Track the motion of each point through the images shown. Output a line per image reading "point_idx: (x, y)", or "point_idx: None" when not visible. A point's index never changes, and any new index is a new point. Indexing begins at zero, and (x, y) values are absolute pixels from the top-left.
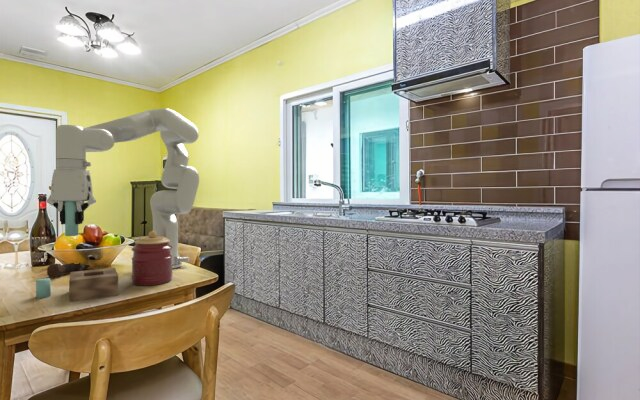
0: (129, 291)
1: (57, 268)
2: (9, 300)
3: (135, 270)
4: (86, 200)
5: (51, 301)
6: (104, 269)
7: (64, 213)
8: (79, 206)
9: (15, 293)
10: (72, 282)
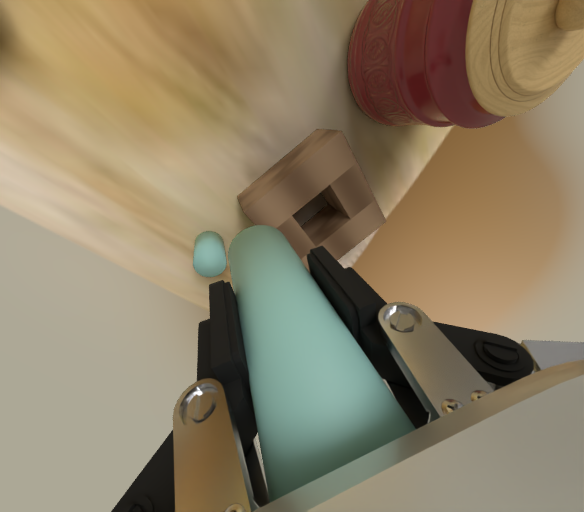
0: (371, 176)
1: None
2: (162, 280)
3: (393, 117)
4: (550, 388)
5: None
6: (322, 162)
7: None
8: (423, 406)
9: (106, 238)
10: None
